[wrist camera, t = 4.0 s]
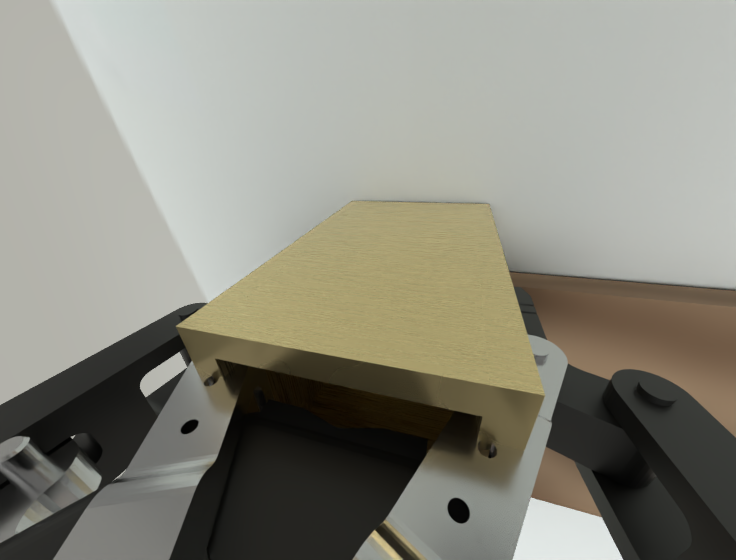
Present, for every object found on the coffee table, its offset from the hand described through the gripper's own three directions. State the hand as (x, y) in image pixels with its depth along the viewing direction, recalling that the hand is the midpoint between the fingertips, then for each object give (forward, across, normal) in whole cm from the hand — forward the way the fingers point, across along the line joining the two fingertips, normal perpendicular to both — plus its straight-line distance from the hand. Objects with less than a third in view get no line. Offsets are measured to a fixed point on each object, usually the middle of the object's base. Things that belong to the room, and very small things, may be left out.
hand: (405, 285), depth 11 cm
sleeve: (+2, 0, 0) cm, 2 cm away
